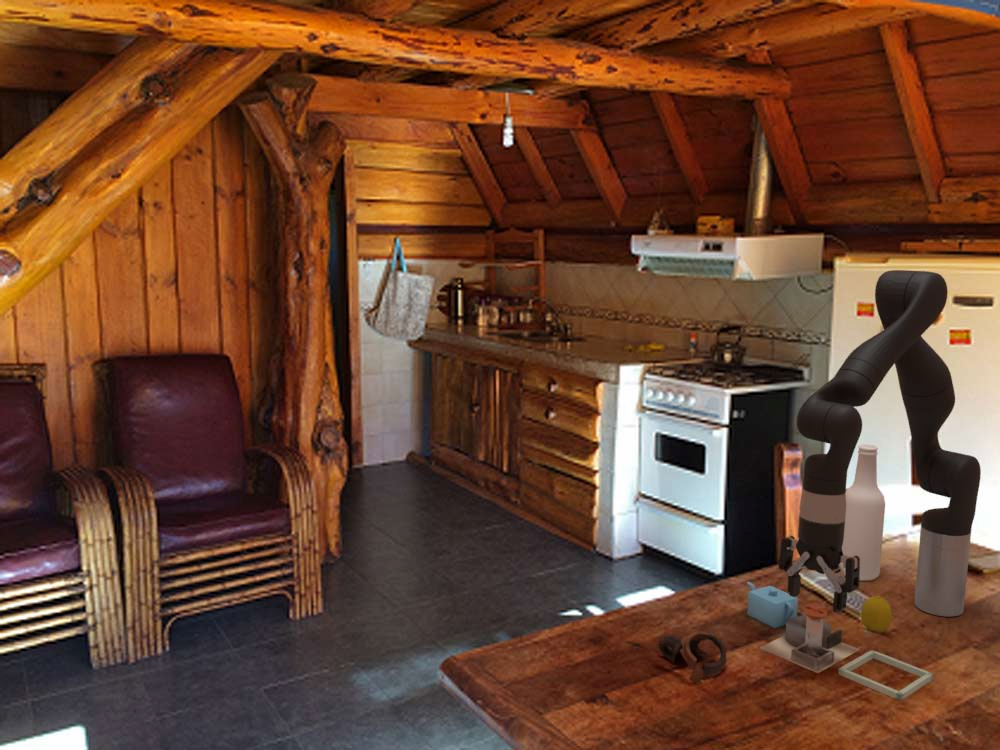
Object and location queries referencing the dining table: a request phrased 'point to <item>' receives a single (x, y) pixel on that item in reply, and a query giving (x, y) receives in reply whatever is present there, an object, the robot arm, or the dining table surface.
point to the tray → (898, 695)
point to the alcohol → (865, 516)
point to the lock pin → (814, 628)
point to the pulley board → (794, 646)
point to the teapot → (771, 605)
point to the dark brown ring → (686, 649)
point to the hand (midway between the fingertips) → (815, 603)
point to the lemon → (876, 614)
